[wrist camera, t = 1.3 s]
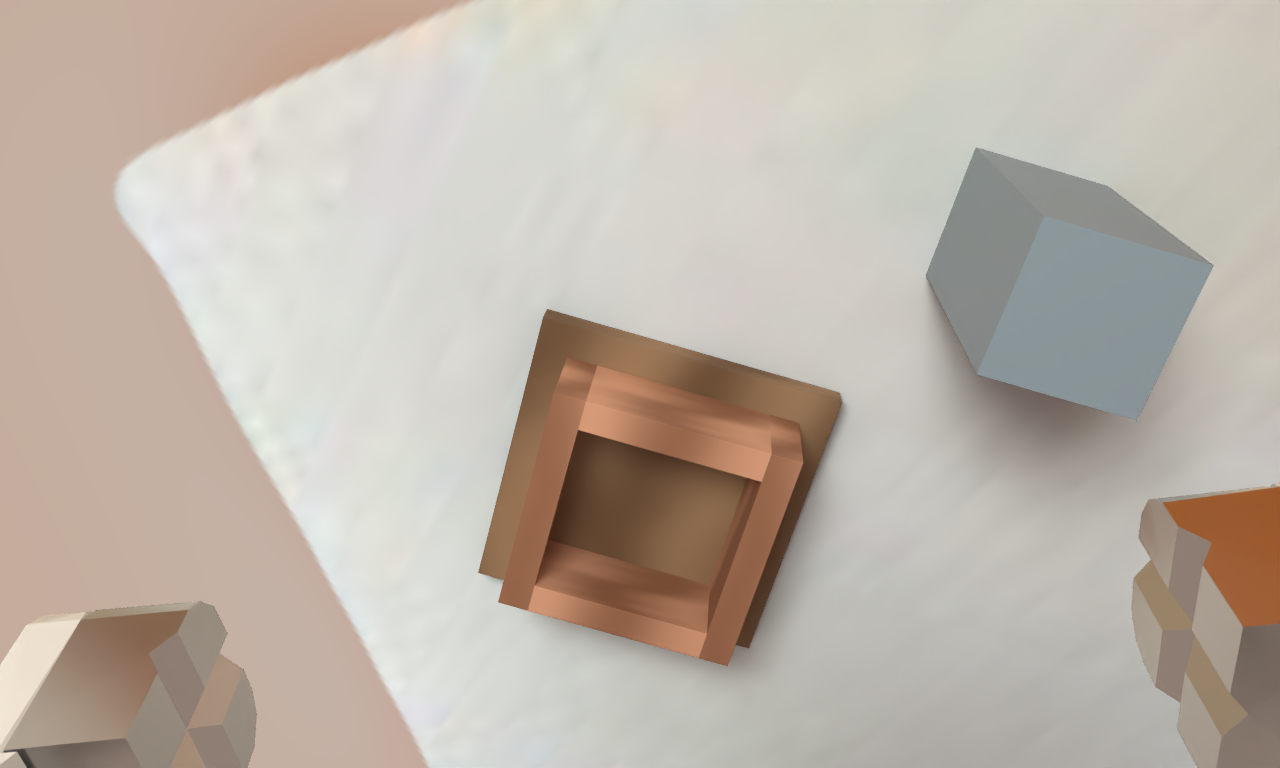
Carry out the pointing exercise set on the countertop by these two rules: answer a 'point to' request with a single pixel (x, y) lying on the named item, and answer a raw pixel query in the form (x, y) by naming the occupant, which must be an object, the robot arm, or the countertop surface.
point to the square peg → (1062, 284)
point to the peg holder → (652, 487)
